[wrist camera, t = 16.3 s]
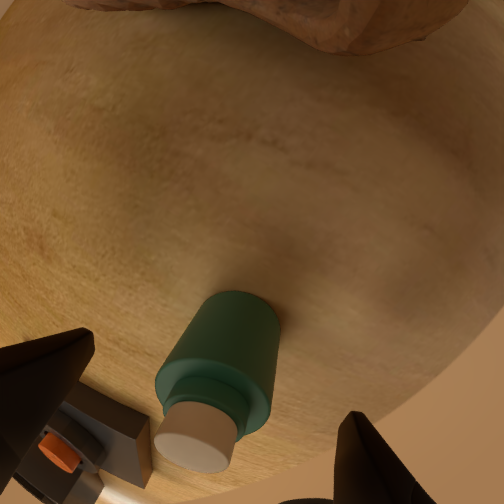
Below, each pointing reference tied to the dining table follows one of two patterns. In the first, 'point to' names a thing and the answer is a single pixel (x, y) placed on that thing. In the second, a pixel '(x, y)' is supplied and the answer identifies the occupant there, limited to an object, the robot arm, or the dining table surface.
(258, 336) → the bottle
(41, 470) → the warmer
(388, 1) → the bowl
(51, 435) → the button
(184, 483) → the dining table surface
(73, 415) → the control
